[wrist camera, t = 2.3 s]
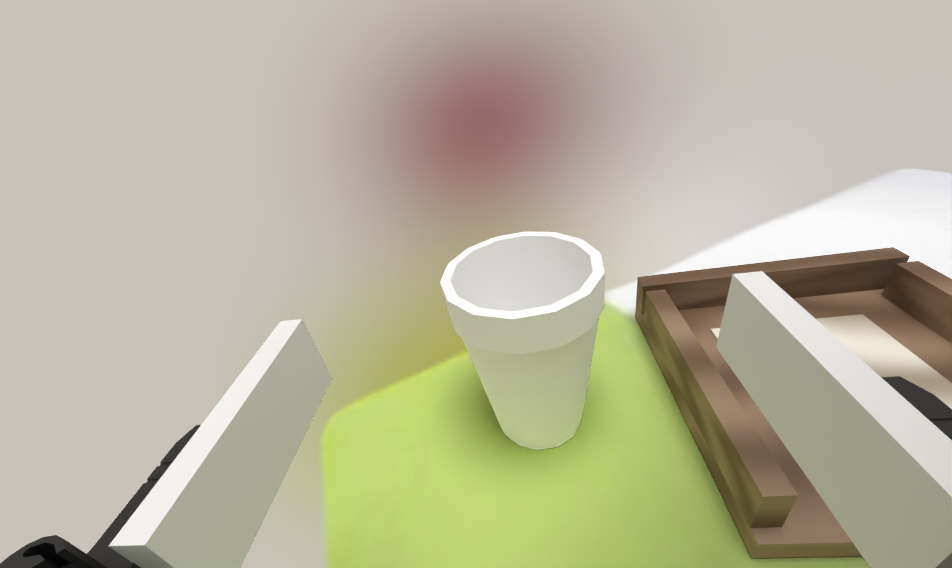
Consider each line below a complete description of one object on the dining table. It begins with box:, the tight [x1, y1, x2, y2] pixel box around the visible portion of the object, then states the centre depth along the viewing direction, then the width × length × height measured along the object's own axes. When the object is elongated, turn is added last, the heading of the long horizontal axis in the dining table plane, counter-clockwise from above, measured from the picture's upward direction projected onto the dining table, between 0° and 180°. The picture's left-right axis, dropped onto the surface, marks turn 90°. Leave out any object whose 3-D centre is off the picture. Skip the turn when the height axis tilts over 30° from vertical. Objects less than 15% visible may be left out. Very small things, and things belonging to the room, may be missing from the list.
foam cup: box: [440, 232, 605, 450], centre depth 26 cm, size 10×9×13 cm
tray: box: [635, 248, 952, 558], centre depth 25 cm, size 20×20×4 cm
